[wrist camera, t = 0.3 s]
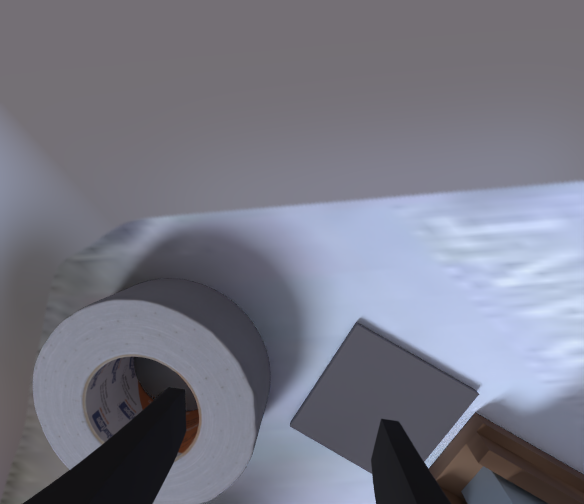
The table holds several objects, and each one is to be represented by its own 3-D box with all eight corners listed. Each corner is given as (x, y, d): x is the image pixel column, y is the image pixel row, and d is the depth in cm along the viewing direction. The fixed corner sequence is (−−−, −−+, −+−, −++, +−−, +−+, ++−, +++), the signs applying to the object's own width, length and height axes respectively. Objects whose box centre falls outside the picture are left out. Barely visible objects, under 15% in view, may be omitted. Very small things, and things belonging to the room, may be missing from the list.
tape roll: (290, 306, 20) (281, 337, 15) (250, 470, 23) (231, 542, 18) (103, 256, 21) (37, 271, 16) (86, 419, 24) (24, 474, 19)
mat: (399, 485, 22) (400, 490, 21) (290, 422, 22) (290, 426, 21) (475, 390, 20) (479, 394, 19) (356, 322, 20) (356, 324, 19)
